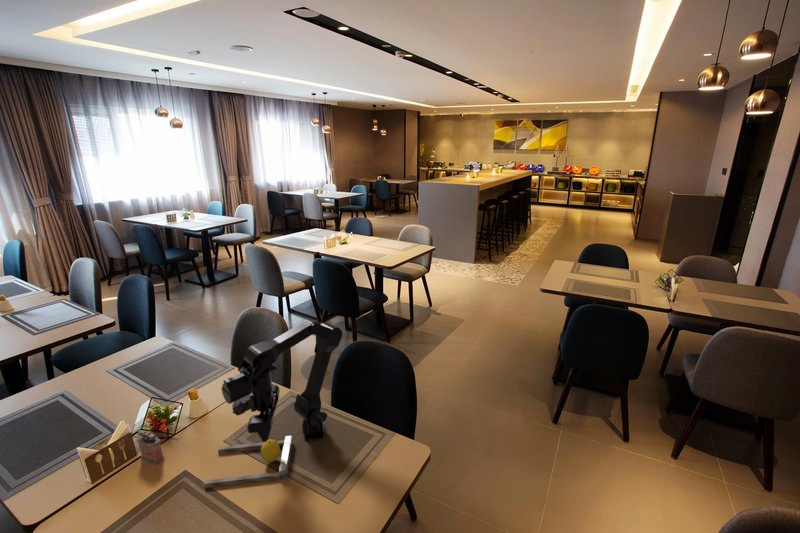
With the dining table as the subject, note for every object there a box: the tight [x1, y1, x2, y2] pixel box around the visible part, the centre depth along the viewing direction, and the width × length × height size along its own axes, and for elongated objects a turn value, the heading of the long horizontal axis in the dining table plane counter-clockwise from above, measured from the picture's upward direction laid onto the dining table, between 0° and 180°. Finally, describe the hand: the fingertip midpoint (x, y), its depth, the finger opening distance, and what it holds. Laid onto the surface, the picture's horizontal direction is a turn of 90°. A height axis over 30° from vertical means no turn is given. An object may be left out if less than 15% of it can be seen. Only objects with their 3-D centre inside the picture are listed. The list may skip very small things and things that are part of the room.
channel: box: [203, 435, 293, 489], centre depth 120 cm, size 23×14×3 cm, turn 98°
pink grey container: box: [136, 429, 165, 465], centre depth 122 cm, size 8×3×10 cm, turn 71°
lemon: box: [260, 438, 281, 464], centre depth 120 cm, size 6×6×8 cm
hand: (267, 430), depth 119 cm, fingers open, 9 cm apart
